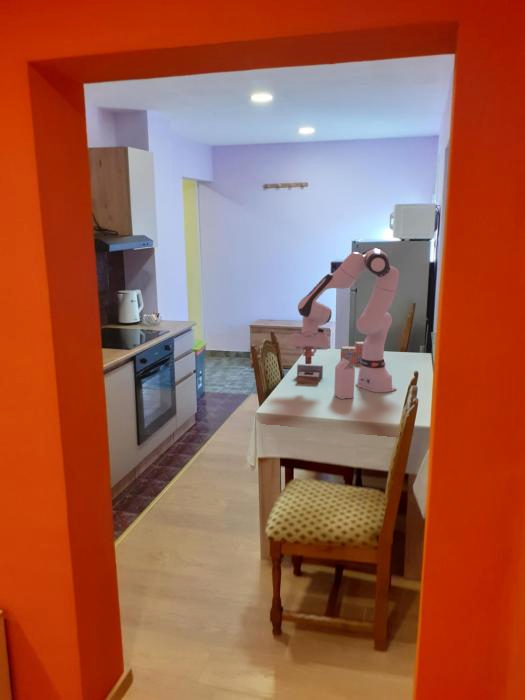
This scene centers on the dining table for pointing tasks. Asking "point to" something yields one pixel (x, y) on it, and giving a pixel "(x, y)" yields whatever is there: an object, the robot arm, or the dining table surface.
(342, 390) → the milk carton
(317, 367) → the backstop wall
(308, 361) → the dowel
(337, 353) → the dining table surface
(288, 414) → the dining table surface
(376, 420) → the dining table surface
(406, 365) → the dining table surface
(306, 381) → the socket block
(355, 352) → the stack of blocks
